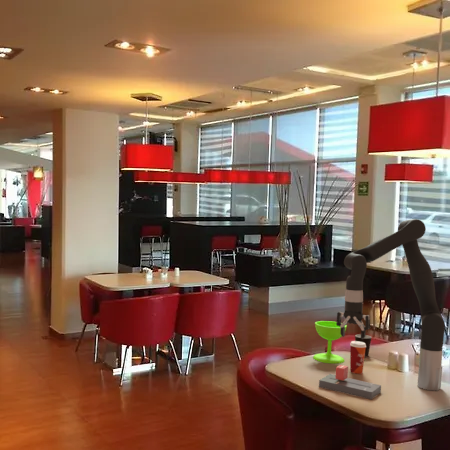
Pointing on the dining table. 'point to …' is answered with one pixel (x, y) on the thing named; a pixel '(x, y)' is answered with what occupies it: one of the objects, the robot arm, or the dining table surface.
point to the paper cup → (357, 356)
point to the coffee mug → (366, 340)
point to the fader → (341, 372)
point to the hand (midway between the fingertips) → (352, 337)
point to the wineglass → (330, 333)
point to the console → (350, 386)
